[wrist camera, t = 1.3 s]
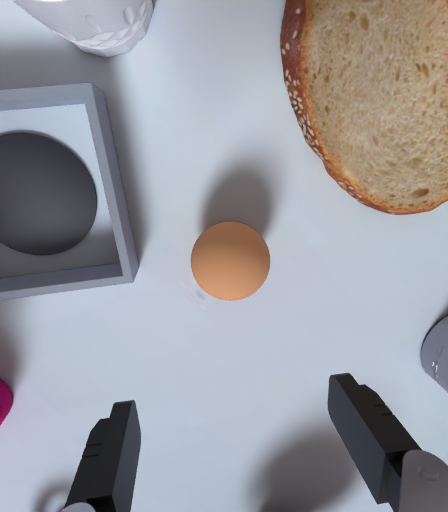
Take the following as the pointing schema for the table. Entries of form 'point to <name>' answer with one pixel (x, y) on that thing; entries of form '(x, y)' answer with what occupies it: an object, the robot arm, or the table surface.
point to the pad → (43, 195)
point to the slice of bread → (373, 96)
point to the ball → (230, 260)
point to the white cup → (94, 22)
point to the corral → (112, 188)
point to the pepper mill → (4, 401)
